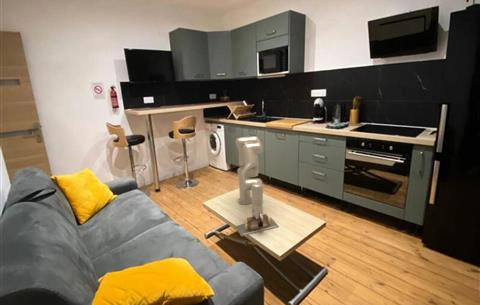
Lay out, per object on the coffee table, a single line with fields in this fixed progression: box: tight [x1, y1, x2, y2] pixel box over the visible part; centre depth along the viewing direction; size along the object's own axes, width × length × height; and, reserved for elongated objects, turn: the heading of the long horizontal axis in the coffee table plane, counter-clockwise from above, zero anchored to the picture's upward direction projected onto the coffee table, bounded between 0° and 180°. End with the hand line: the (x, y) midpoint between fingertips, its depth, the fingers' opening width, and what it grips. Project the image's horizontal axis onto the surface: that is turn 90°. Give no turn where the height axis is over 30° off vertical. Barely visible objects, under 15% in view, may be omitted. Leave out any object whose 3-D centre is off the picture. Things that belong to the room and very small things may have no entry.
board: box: [235, 217, 280, 237], centre depth 167 cm, size 13×28×6 cm, turn 109°
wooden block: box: [246, 213, 269, 231], centre depth 165 cm, size 4×14×8 cm, turn 109°
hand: (257, 223), depth 165 cm, fingers open, 9 cm apart
